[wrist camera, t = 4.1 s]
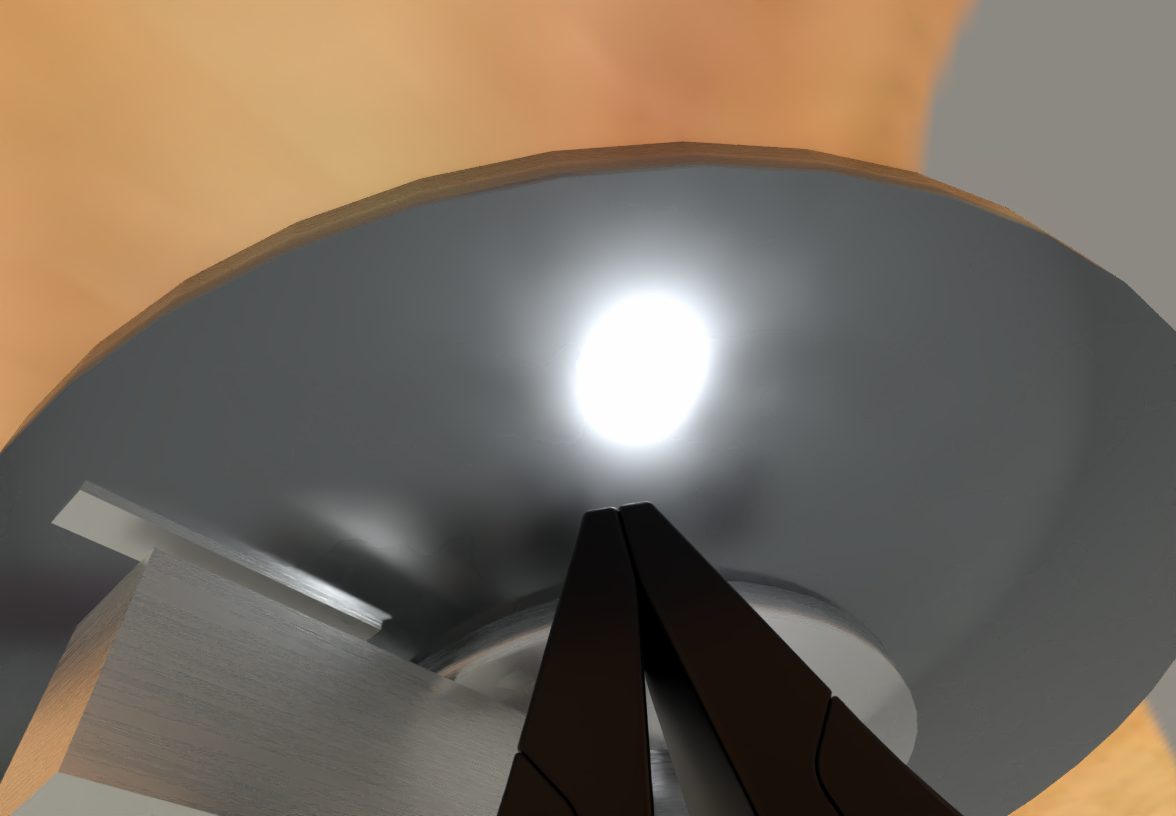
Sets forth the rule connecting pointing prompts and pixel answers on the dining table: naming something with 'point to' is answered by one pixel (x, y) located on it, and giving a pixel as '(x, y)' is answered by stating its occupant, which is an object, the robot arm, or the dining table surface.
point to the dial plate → (645, 430)
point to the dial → (337, 706)
